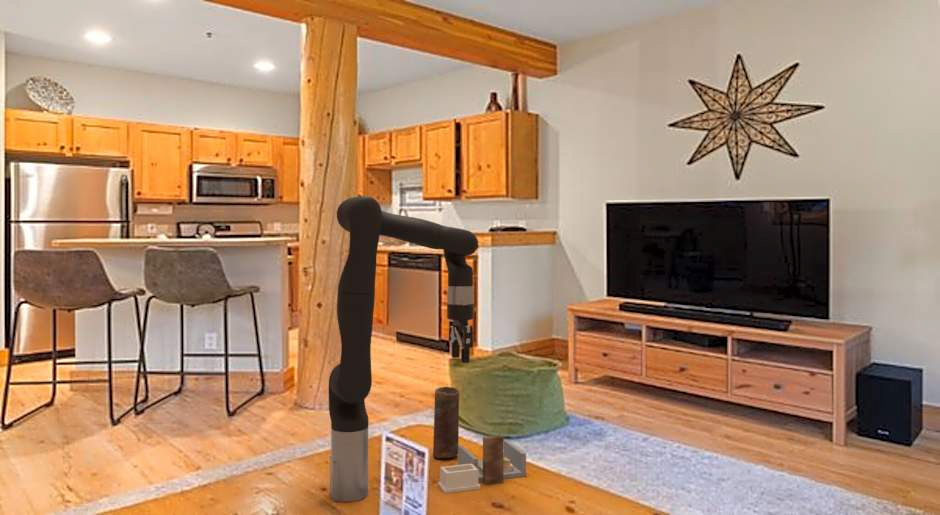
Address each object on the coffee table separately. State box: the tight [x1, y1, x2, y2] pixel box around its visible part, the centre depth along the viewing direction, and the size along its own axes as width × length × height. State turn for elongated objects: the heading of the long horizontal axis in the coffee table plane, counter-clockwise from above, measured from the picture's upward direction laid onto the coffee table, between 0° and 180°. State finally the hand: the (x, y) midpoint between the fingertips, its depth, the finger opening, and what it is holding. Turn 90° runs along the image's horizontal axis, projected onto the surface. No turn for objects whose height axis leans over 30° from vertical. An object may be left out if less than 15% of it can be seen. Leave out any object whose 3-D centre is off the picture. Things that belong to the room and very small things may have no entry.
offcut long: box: [478, 463, 514, 475], centre depth 175 cm, size 9×3×2 cm, turn 109°
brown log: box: [432, 386, 460, 460], centre depth 190 cm, size 8×7×20 cm
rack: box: [457, 439, 527, 483], centre depth 178 cm, size 15×13×6 cm
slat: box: [482, 434, 504, 486], centre depth 170 cm, size 5×2×12 cm, turn 110°
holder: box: [437, 463, 482, 494], centre depth 167 cm, size 10×6×5 cm, turn 109°
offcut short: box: [503, 457, 510, 467], centre depth 175 cm, size 6×3×2 cm, turn 113°
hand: (460, 360), depth 181 cm, fingers open, 8 cm apart
